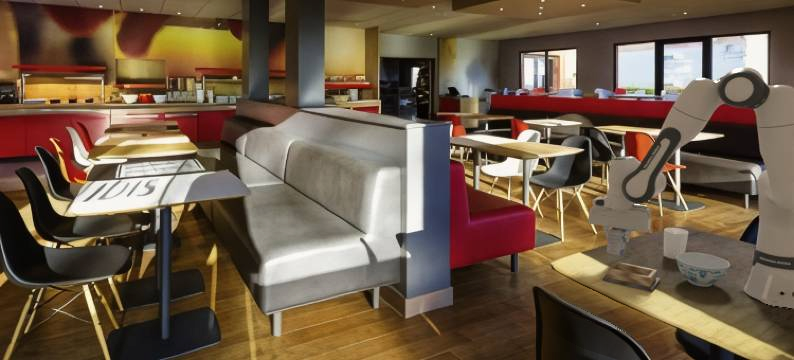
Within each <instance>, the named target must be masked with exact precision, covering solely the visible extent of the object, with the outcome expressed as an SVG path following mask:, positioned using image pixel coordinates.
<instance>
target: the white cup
mask: <svg viewBox="0 0 794 360" xmlns="http://www.w3.org/2000/svg"><path fill="white" fill-rule="evenodd" d="M663 229H664V230H663V257H664V258H667V259H672V260H676V256H677V255H678V254H680V253H686V249H687V244H688V237H689V231H688V230H687V229H683V228H680V227H679V228H678V227H665V228H663Z"/></svg>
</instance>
